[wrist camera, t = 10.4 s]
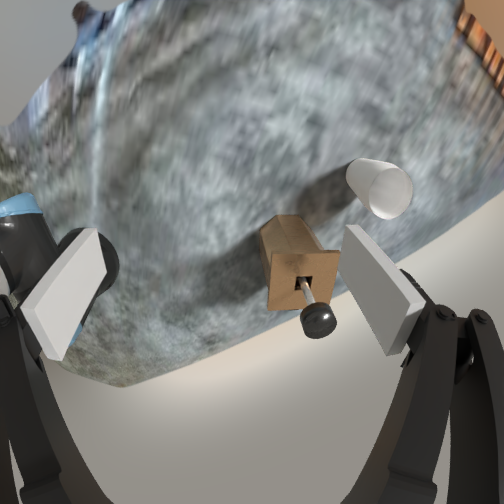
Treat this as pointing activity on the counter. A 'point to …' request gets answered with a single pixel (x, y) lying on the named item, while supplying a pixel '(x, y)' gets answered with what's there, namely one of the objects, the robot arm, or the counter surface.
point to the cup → (380, 186)
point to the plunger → (315, 314)
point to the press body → (295, 263)
